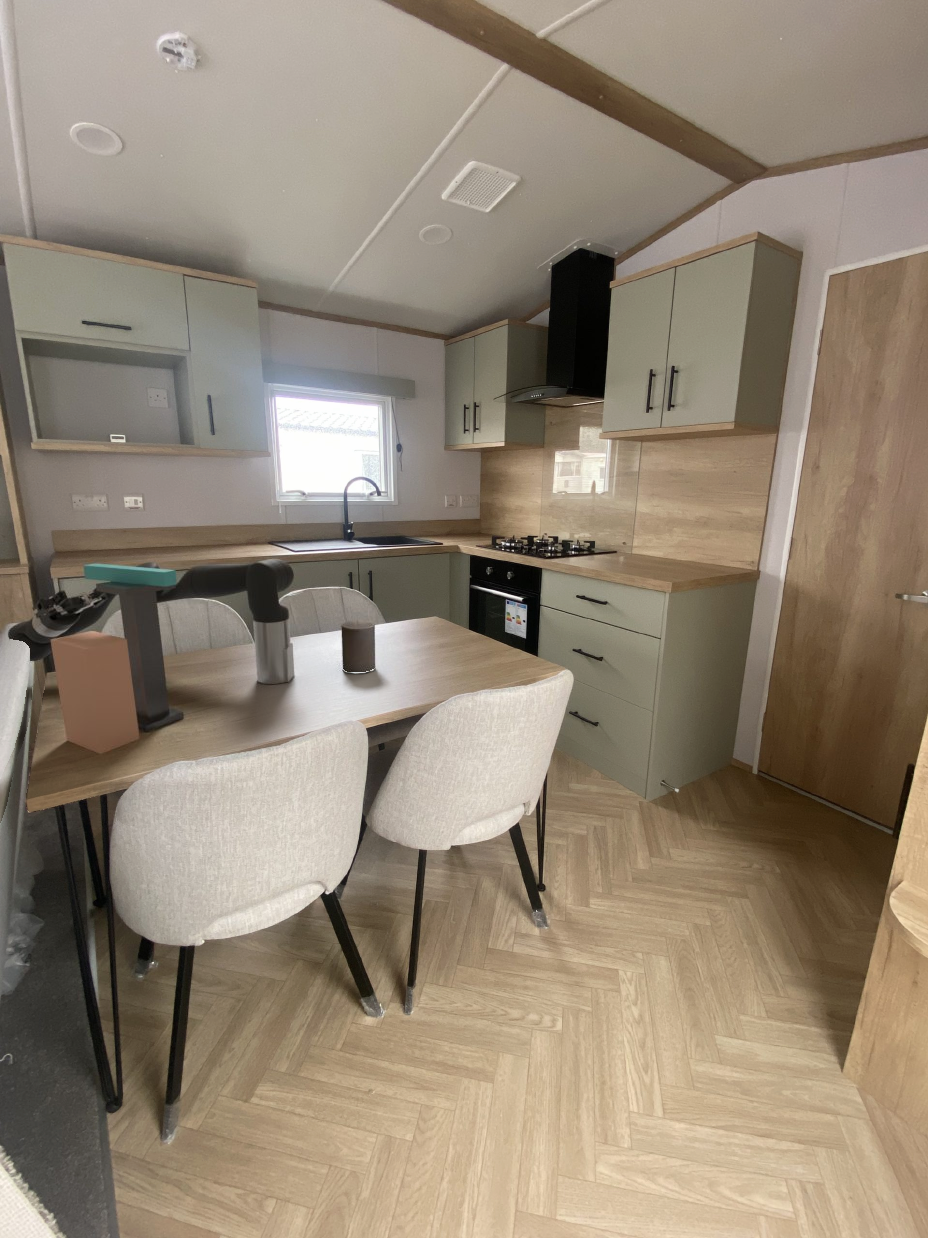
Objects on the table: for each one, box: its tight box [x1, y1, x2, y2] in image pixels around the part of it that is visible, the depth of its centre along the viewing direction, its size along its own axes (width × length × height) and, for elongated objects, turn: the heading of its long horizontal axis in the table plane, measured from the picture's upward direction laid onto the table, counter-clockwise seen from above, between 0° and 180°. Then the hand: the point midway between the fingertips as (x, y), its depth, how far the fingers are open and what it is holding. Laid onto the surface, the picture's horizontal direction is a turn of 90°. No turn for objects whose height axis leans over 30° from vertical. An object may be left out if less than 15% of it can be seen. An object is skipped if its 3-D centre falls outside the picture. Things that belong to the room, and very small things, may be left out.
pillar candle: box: [341, 619, 376, 672], centre depth 162 cm, size 10×10×15 cm
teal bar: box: [82, 563, 178, 587], centre depth 119 cm, size 22×3×3 cm, turn 73°
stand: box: [95, 581, 185, 734], centre depth 123 cm, size 10×11×32 cm
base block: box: [51, 630, 140, 755], centre depth 114 cm, size 12×8×22 cm, turn 62°
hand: (84, 590), depth 129 cm, fingers open, 8 cm apart
